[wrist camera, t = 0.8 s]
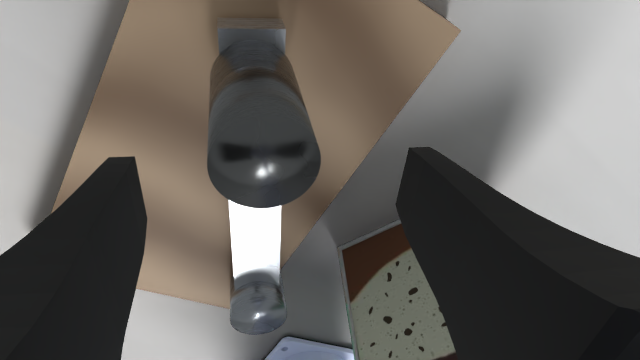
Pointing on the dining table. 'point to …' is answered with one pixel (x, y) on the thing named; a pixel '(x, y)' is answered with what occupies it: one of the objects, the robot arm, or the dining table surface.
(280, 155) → the lever
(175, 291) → the walnut board
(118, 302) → the robot arm
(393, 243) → the food container
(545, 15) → the dining table surface
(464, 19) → the dining table surface
